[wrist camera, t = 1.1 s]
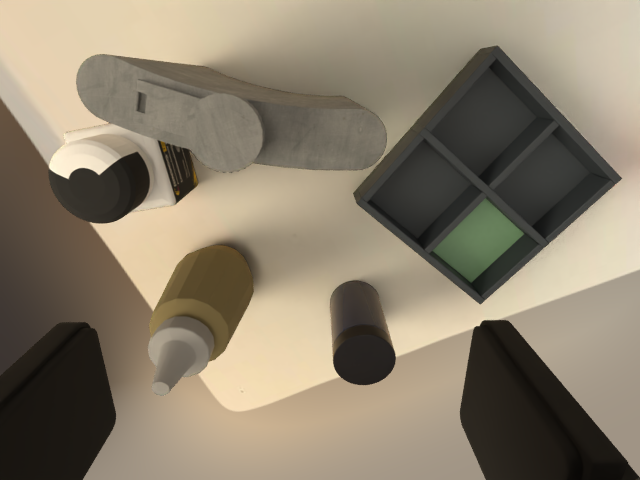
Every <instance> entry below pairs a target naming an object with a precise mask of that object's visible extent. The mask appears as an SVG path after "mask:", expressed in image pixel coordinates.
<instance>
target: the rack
mask: <svg viewBox="0 0 640 480" xmlns="http://www.w3.org/2000/svg"><path fill="white" fill-rule="evenodd" d="M621 179H622V178H621V177H620V176H619V175H618V174H617V173H616V172H615V171H614V170H613V168H612V167H611V166H610V165H609V164H608V163H607V162H606V161H605V160H604V159H603V158H602V157H601V156H600V155H599V153H598V152H597V151H596V150H595V149H594V148H593V147H592V146H591V145H590V144H589V143H588V142H587V141H586V140H585V138H584V137H583V136H582V135H581V134H580V133H579V132H578V131H577V130H576V129H575V128H574V127H573V126H572V125H571V124H570V122H569V121H568V120H567V119H566V118H565V117H564V116H563V115H562V114H561V113H560V112H559V111H558V110H557V109H556V107H555V106H554V105H553V104H552V103H551V102H550V101H549V100H548V99H547V98H546V97H545V96H544V95H543V94H542V92H541V91H540V90H539V89H538V88H537V87H536V86H535V85H534V84H533V83H532V82H531V81H530V80H529V79H528V78H527V76H526V75H525V74H524V73H523V72H522V71H521V70H520V69H519V68H518V67H517V66H516V65H515V64H514V63H513V61H512V60H511V59H510V58H509V57H508V56H507V55H506V54H505V53H504V52H503V51H502V50H501V49H500V48H499V46H493V47H488V48H483V49H480V50H479V51H478V52H477V53H476V54H475V56H474V57H473V58H472V59H471V60H470V61H469V62H468V64H467V65H466V66H465V67H464V68H463V69H462V70H461V72H460V73H459V74H458V75H457V76H456V77H455V78H454V79H453V81H452V82H451V83H450V84H449V85H448V86H447V87H446V89H445V90H444V91H443V92H442V93H441V94H440V95H439V97H438V98H437V99H436V100H435V101H434V102H433V103H432V104H431V106H430V107H429V108H428V109H427V110H426V111H425V112H424V114H423V115H422V116H421V117H420V118H419V119H418V120H417V122H416V123H415V124H414V125H413V126H412V127H411V128H410V129H409V131H408V132H407V133H406V134H405V135H404V136H403V137H402V139H401V140H400V141H399V142H398V143H397V144H396V145H395V147H394V148H393V149H392V150H391V151H390V152H389V153H388V154H387V156H386V157H385V158H384V159H383V160H382V161H381V162H380V164H379V165H378V166H377V167H376V168H375V169H374V170H373V172H372V173H371V174H370V175H369V176H368V177H367V178H366V179H365V181H364V182H363V183H362V184H361V185H360V186H359V187H358V189H357V190H356V191H355V192H354V193H353V194H354V197H355V200H356V203H357V204H358V205H359V206H360V207H361V208H363V209H364V210H365V211H366V212H367V213H369V214H370V215H371V216H372V217H374V218H375V219H376V220H377V221H378V222H380V223H381V224H382V225H383V226H385V227H386V228H387V229H388V230H390V231H391V232H392V233H393V234H394V235H396V236H397V237H398V238H399V239H401V240H402V241H403V242H404V243H405V244H407V245H408V246H409V247H410V248H412V249H413V250H414V251H415V252H416V253H418V254H419V255H420V256H421V257H423V258H424V259H425V260H426V261H428V262H429V263H430V264H431V265H432V266H434V267H435V268H436V269H437V270H439V271H440V272H441V273H442V274H443V275H445V276H446V277H447V278H448V279H450V280H451V281H452V282H453V283H455V284H456V285H457V286H458V287H459V288H461V289H462V290H463V291H464V292H466V293H467V294H468V295H469V296H470V297H472V298H473V299H474V300H475V301H477V302H478V303H479V304H482V303H483V302H484V301H485V300H486V299H487V298H488V297H489V296H490V295H492V294H493V293H494V292H495V291H496V290H497V289H498V288H499V287H501V286H502V285H503V284H504V283H505V282H506V281H507V280H508V279H510V278H511V277H512V276H513V275H514V274H515V273H516V272H517V271H519V270H520V269H521V268H522V267H523V266H524V265H525V264H526V263H528V262H529V261H530V260H531V259H532V258H533V257H534V256H535V255H537V254H538V253H539V252H540V251H541V250H542V249H543V248H544V247H546V246H547V245H548V244H549V243H550V242H551V241H552V240H553V239H555V238H556V237H557V236H558V235H559V234H560V233H561V232H562V231H564V230H565V229H566V228H567V227H568V226H569V225H570V224H571V223H572V222H574V221H575V220H576V219H577V218H578V217H579V216H580V215H581V214H583V213H584V212H585V211H586V210H587V209H588V208H589V207H590V206H592V205H593V204H594V203H595V202H596V201H597V200H598V199H599V198H601V197H602V196H603V195H604V194H605V193H606V192H607V191H608V190H610V189H611V188H612V187H613V186H614V185H615V184H617V183H618V182H619V181H620V180H621Z"/></svg>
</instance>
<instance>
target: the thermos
mask: <svg viewBox="0 0 640 480" xmlns="http://www.w3.org/2000/svg"><path fill="white" fill-rule="evenodd" d="M330 312H331V330H332V348H333V364H334V368H335V370H336V372H337V373H338V375H339V376H340V377H341V378H343V379H344V380H346V381H347V382H350V383H353V384H357V385H370V384H373V383H377V382H379V381H381V380H383V379H384V378H386V377H387V376H388V375H389V374H390V373H391V371H392V370H393V368H394V365H395V360H396V357H395V352H394V348H393V345H392V341H391V338H390V334H389V331H388V327H387V324H386V320H385V317H384V313H383V310H382V306H381V303H380V299H379V295H378V293H377V291H376V290H375V289H374V288H373V287H372V286H371V285H369V284H367V283H365V282H361V281H350V282H346V283H344V284H342V285H340V286H339V287H338V288H337V289H336V290H335V291H334V292H333V294H332V296H331V299H330Z"/></svg>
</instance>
